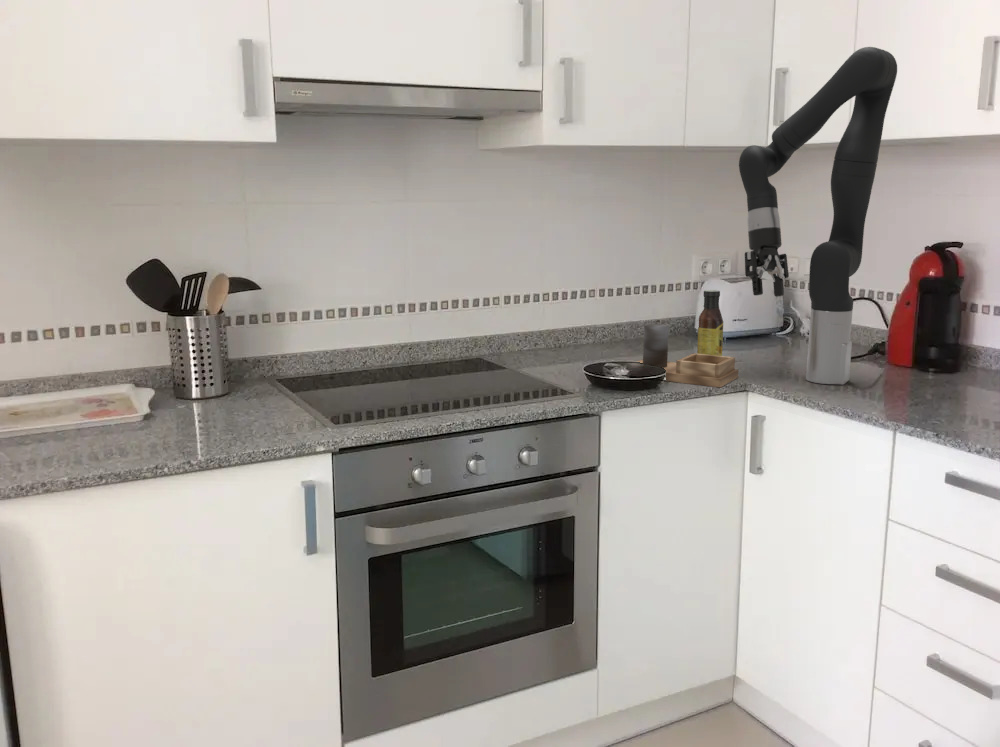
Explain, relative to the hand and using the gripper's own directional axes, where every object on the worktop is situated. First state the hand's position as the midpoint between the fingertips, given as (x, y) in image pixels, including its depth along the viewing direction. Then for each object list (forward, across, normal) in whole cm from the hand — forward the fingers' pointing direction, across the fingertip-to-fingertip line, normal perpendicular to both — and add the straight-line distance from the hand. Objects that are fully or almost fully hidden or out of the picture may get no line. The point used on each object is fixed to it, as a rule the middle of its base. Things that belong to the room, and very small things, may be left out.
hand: (768, 295), depth 215 cm
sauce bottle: (+16, -1, +19) cm, 25 cm away
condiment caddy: (+18, -15, +16) cm, 29 cm away
